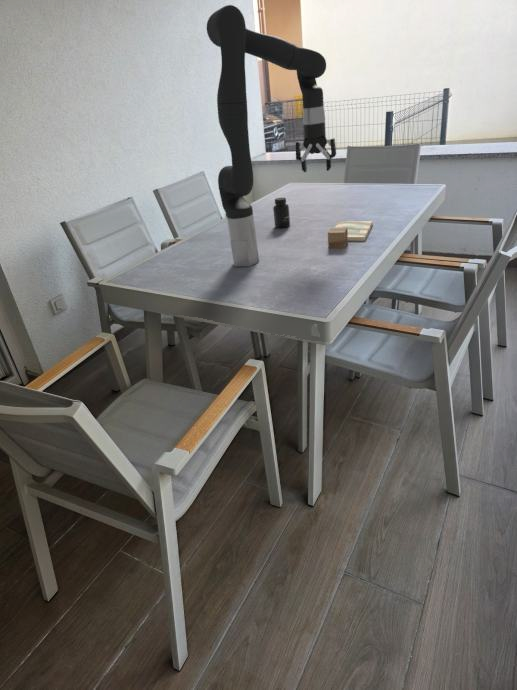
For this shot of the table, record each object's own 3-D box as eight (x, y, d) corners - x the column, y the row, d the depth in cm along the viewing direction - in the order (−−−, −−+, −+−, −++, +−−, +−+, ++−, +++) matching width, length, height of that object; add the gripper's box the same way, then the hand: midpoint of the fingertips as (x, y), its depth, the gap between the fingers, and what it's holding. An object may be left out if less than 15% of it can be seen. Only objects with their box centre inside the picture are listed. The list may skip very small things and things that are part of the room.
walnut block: (344, 248, 162) (344, 232, 159) (328, 248, 164) (327, 232, 161) (347, 243, 166) (347, 227, 163) (332, 243, 169) (331, 227, 166)
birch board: (364, 240, 166) (364, 236, 165) (328, 241, 171) (327, 237, 170) (372, 224, 181) (372, 220, 181) (338, 225, 187) (338, 221, 186)
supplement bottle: (289, 228, 192) (286, 200, 186) (273, 229, 194) (270, 201, 187) (291, 223, 198) (288, 196, 192) (276, 224, 199) (273, 197, 193)
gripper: (291, 125, 153) (295, 174, 161) (332, 121, 148) (334, 171, 156) (296, 122, 159) (300, 170, 167) (336, 118, 154) (337, 167, 162)
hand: (316, 171), depth 162 cm, fingers open, 8 cm apart
